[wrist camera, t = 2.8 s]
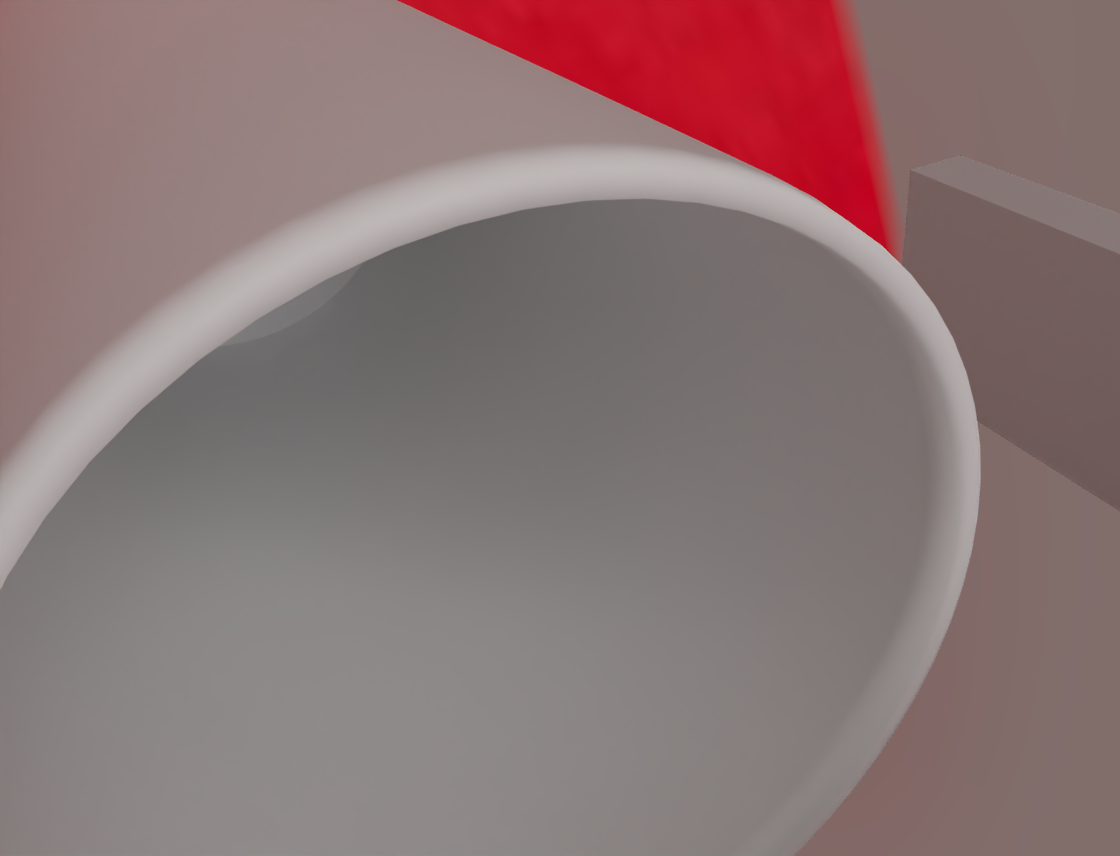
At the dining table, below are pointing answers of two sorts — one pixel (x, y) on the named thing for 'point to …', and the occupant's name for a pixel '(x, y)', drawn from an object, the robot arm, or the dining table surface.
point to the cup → (439, 455)
